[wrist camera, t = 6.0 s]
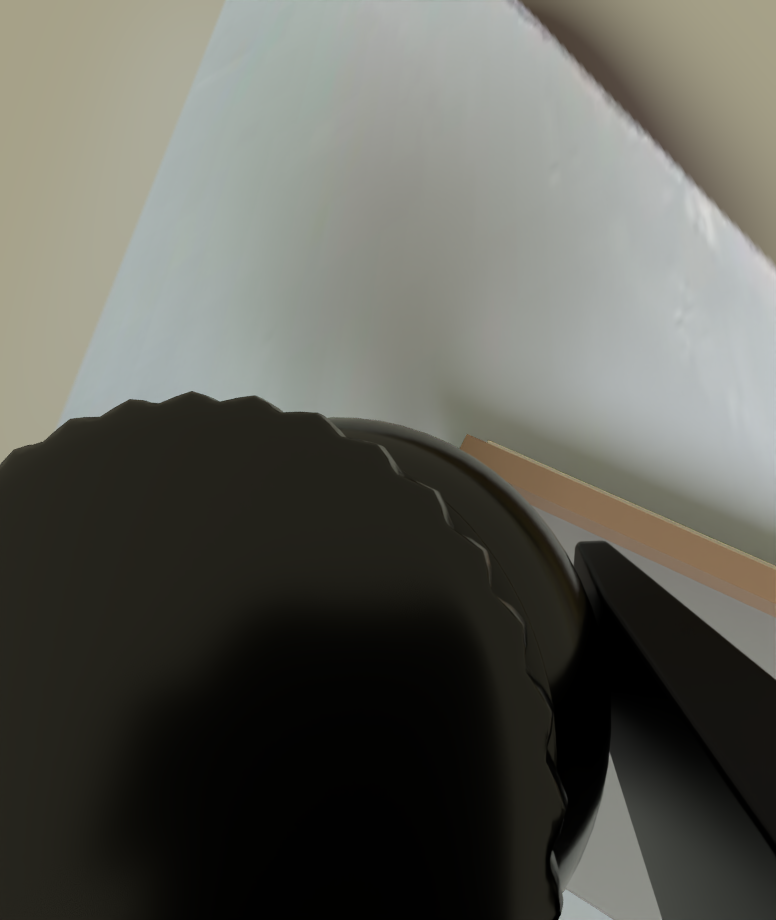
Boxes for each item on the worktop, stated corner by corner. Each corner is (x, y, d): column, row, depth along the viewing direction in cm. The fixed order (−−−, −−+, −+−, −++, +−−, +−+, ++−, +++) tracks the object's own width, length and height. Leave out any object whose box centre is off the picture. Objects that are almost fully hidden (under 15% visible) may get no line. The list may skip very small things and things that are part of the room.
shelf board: (727, 983, 17) (770, 1049, 14) (329, 731, 20) (308, 750, 18) (855, 620, 19) (913, 623, 16) (470, 448, 22) (469, 429, 20)
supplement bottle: (276, 528, 16) (-238, 325, 4) (512, 495, 15) (626, 145, 4) (291, 793, 14) (-533, 1614, 3) (562, 771, 13) (1119, 1836, 2)
